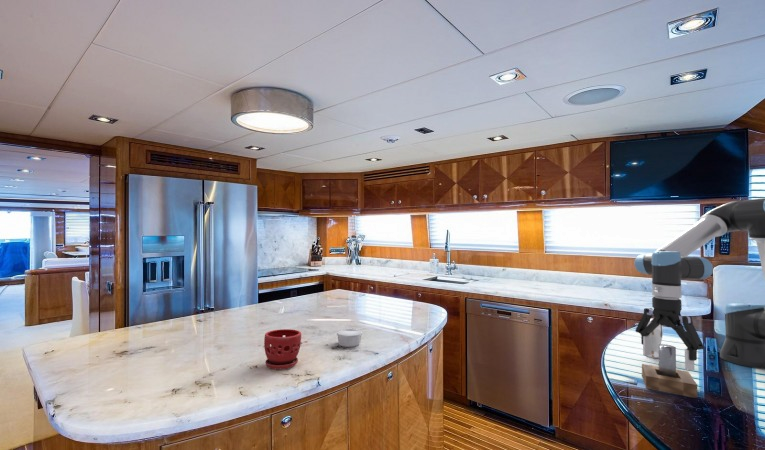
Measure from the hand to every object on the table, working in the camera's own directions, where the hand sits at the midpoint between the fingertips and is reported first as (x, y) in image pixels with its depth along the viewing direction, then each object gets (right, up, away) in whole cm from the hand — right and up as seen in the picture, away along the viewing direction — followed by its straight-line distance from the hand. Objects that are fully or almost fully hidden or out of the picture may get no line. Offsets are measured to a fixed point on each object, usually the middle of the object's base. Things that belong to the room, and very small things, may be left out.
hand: (667, 362), depth 114 cm
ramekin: (-109, -8, +40) cm, 116 cm away
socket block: (0, -8, 0) cm, 8 cm away
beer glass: (+18, -9, +29) cm, 35 cm away
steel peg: (0, -8, 0) cm, 8 cm away
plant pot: (-131, -7, +14) cm, 132 cm away
